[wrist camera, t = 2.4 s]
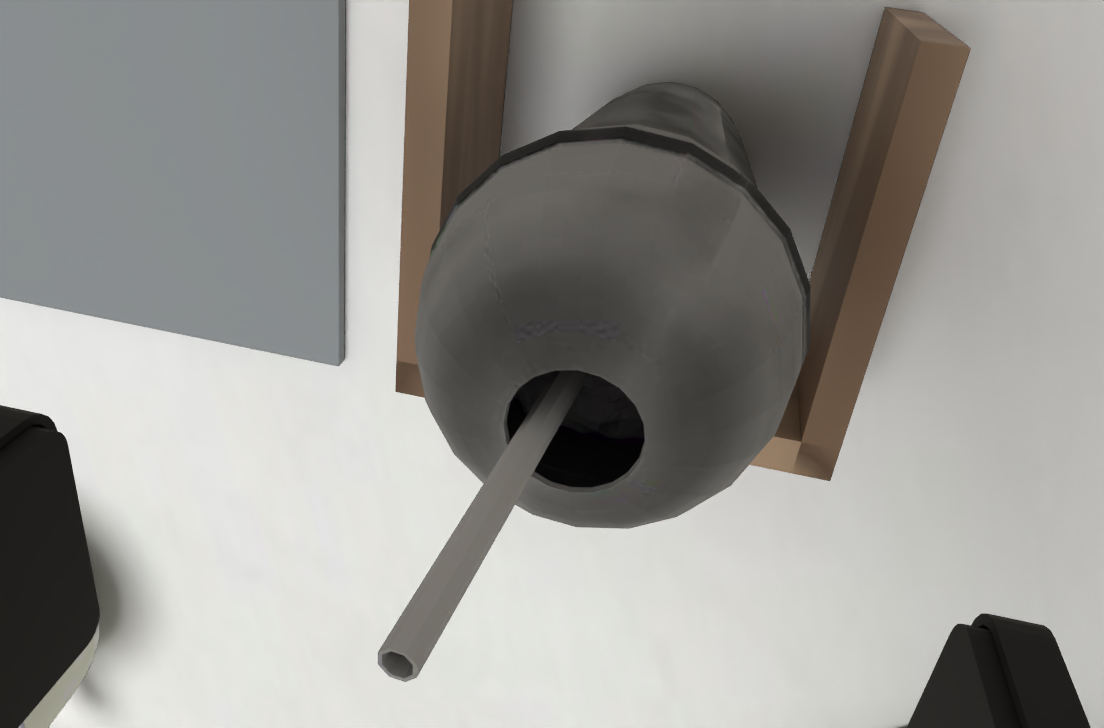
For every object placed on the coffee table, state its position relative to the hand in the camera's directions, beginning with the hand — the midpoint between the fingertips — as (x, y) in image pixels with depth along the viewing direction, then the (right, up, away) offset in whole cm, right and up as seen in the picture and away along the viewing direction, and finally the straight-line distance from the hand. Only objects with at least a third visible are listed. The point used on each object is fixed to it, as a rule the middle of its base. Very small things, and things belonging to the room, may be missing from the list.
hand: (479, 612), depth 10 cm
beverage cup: (+4, +9, +18) cm, 20 cm away
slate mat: (-13, +10, +20) cm, 26 cm away
